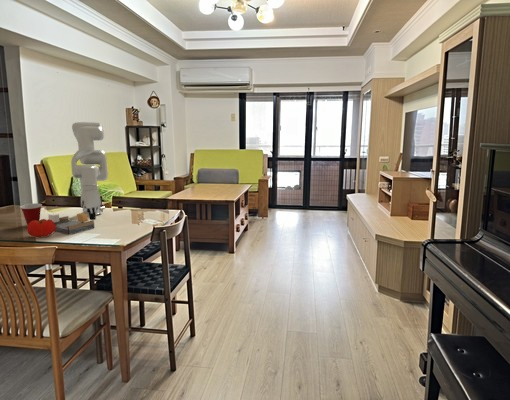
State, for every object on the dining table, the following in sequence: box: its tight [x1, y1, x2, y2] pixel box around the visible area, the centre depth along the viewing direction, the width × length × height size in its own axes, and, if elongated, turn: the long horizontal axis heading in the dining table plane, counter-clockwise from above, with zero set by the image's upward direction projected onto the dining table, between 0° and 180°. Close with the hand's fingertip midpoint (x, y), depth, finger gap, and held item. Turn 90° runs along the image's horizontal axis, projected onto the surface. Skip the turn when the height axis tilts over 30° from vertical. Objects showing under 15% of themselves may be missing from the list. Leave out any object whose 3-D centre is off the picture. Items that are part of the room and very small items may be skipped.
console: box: [54, 215, 95, 235], centre depth 194 cm, size 15×24×4 cm, turn 61°
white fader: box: [47, 212, 60, 224], centre depth 194 cm, size 3×5×5 cm, turn 61°
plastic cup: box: [19, 203, 43, 226], centre depth 201 cm, size 11×11×12 cm
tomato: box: [26, 218, 56, 239], centre depth 179 cm, size 14×13×9 cm
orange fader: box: [76, 212, 89, 223], centre depth 195 cm, size 3×5×5 cm, turn 61°
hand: (92, 219), depth 200 cm, fingers closed
